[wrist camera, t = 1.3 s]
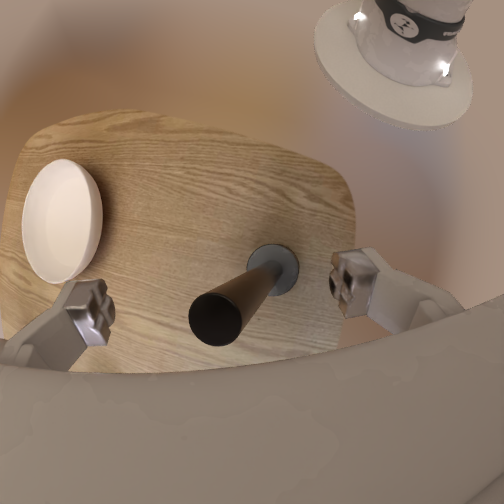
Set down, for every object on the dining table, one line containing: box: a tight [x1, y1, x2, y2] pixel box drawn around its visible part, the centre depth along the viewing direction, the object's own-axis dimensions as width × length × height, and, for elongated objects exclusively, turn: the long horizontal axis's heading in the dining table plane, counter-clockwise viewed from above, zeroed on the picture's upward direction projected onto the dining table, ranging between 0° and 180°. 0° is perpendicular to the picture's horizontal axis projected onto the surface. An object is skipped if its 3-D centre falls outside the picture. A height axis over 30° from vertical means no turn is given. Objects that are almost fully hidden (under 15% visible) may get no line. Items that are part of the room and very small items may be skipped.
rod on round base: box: [188, 244, 299, 346], centre depth 23 cm, size 6×6×24 cm
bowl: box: [22, 159, 103, 284], centre depth 38 cm, size 20×20×6 cm
